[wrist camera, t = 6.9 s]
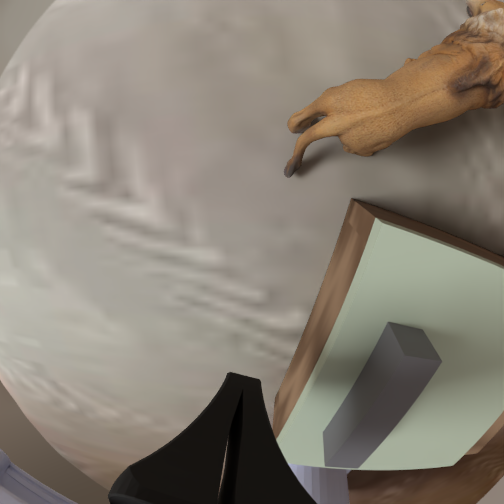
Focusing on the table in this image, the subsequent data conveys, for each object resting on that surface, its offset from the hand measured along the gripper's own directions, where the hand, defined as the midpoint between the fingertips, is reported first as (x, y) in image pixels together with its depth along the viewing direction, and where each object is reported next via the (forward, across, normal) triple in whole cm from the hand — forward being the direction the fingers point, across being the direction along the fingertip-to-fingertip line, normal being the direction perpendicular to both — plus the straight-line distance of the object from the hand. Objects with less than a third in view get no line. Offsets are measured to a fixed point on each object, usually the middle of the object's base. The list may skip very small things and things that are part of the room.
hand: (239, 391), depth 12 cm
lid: (+3, -12, 0) cm, 12 cm away
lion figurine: (+8, -4, -15) cm, 17 cm away
